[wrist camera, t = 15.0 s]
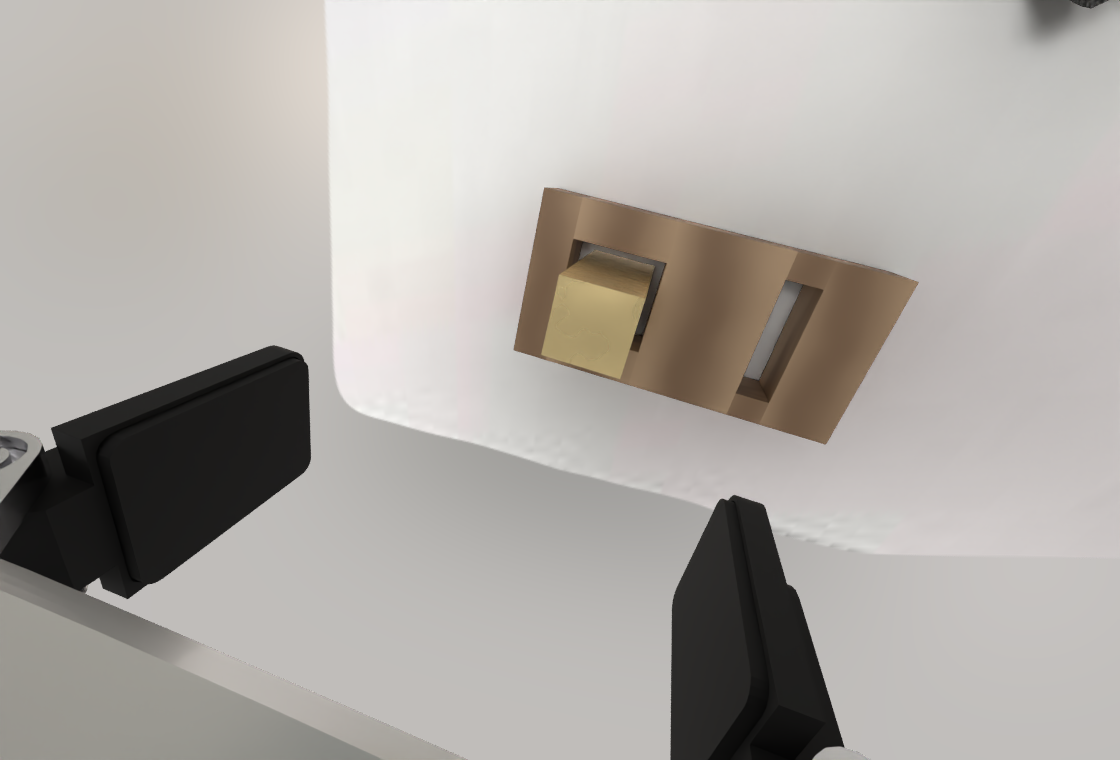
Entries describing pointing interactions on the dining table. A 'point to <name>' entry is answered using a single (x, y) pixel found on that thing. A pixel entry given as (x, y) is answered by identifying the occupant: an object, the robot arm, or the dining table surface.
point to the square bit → (597, 312)
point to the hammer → (1088, 2)
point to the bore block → (724, 313)
